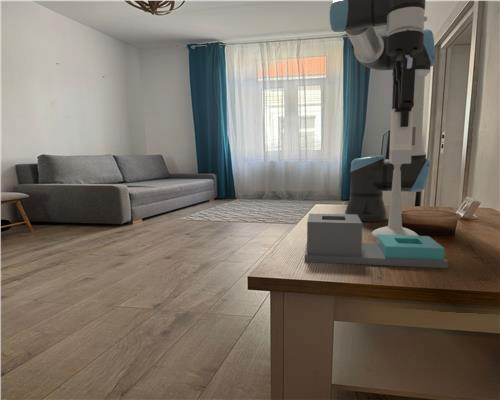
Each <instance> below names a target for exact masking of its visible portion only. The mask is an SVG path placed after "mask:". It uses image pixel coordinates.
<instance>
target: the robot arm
mask: <svg viewBox="0 0 500 400" xmlns="http://www.w3.org/2000/svg"><path fill="white" fill-rule="evenodd" d="M425 9H426V0H333V1H332V3H331V4H330V6H329V24H330V27H331V30H332V32H334V33H340V32H341V33H343V32H345V33H346V35H347V37H348V39H349V40H350V43H351V45H352V46H353V54H354V56H355V58H356V60H357V61H358V63H360V64H361V65H363V66H365V67H367V68H369V69H372V70H375V71H392V99H391V100H392V101H391V102H392V103H391V104H392V105H391V110H393V109H395V112H397V126H396V143H409V142H410V121H411V112H409V111H411V110H412V108H413V127H416V131H415V145H413V146H412V151H411V164H402V165H401V167H400V171H401V192H404V193H406V192H407V193H415V192H416V193H417V192H419V193H420V192H422V191H424V190H425V188H426V185H427V181H428V176H429V171H430V165H431V159H430V158H427V153H426V152H425V151H424V150H423V149H422V147H423V146H422V145H423V144H422V143H423V126H424V125H423V124H424V107H425V106H424V104H425V103H424V101H425V100H424V99H425V84H426V83H425V82H426V76H428V75H429V74H430V73H431V67H434V66H436V49H435V47H436V46H435V39H434V38H435V37H434V33H433V31H432V30H431V29H428V28H427V29H425V22H427V21H428V16H425V12H426V11H425ZM380 26H386V34H380V35H379V34H378V32H377V28H376V27H380ZM393 171H394V165H393V164H391V163H389V158H385V156H384V155H375V156H367V157H360V158H359V157H358V158H354V159H353V160H352V161H351V163H350V171H349V173H350V187H349V188H350V190H349V192H350V193H349V194H350V195H349V200H348V203H347V205H346V209H345V212H344V214H356V215H358V217H359V218H360V220H361V222H382V221H386V220H387V219H388V212H387V210H386V206H385V202H384V197H383V195H384V192H392V181H393Z"/></svg>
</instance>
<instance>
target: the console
mask: <svg viewBox="0 0 500 400" xmlns="http://www.w3.org/2000/svg"><path fill="white" fill-rule="evenodd" d="M445 252H446V251H445V247H443V246H442V245H441V244H440V243H438V242H437V241H436V240H435V239H433V238H432V237H430V235H418V236H408V235H377V238H376V242H375V243H374V242H363V221H361V220H360V218H359V217H358V215H356V214H345V213H308V216H307V223H306V245H305V251H304V262H307V263H325V264H326V263H328V264H350V265H351V264H353V265H367V266H368V265H371V266H390V267H392V266H393V267H396V266H397V267H412V268H413V267H415V268H434V269H435V268H437V269H449V261H448V260H447V259H446V258H445Z"/></svg>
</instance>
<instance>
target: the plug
mask: <svg viewBox="0 0 500 400" xmlns="http://www.w3.org/2000/svg"><path fill="white" fill-rule="evenodd" d="M409 112H411V121H410V142H409V143H396V126H397V112H395V109H393V110H392V109H391V110H390V124H389V125H390V129H389V154H388V155H389V156H388V157H389V158H388V159H389V163H391V164H411V151H412V146H413V145H415V131H416V127H413V108H412V110H411V111H409Z"/></svg>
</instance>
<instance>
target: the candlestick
mask: <svg viewBox="0 0 500 400" xmlns="http://www.w3.org/2000/svg"><path fill="white" fill-rule="evenodd" d="M393 165H394V171H393V181H392V191H390V193H391V194H390V205H389V215H388V223H387V225H386V226H382V227H378V228H376V229H374V230H373V231H372V232H371V236H372V237H373V238H376V239H377V235H408V236H419V234H418V233H416V232H415V231H413V229H412V230H411V229H410V228H407V227H403V224H402V223H403V222H402V191H401V171H400V167H401V165H402V164H393Z"/></svg>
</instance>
